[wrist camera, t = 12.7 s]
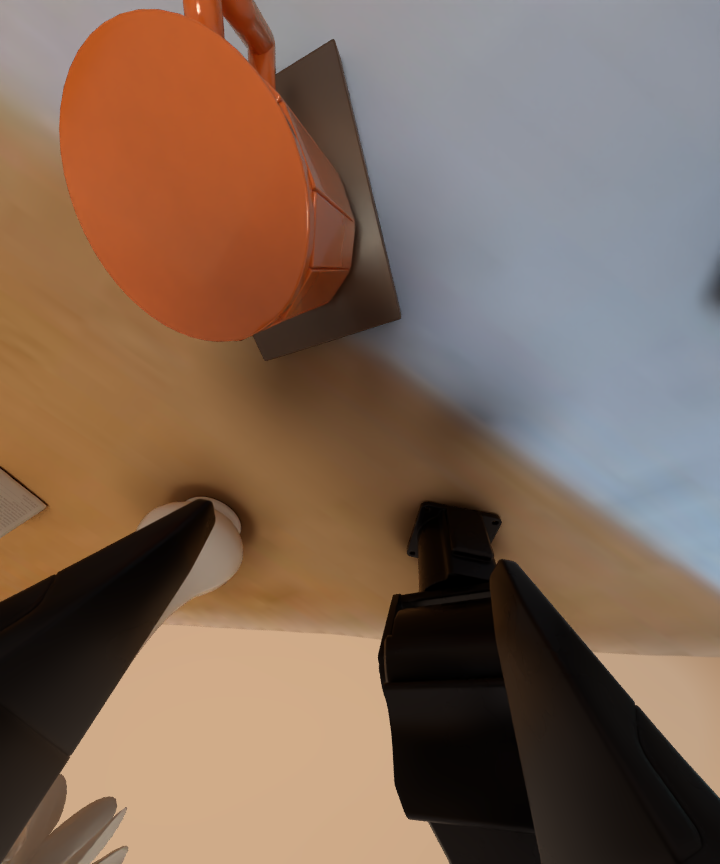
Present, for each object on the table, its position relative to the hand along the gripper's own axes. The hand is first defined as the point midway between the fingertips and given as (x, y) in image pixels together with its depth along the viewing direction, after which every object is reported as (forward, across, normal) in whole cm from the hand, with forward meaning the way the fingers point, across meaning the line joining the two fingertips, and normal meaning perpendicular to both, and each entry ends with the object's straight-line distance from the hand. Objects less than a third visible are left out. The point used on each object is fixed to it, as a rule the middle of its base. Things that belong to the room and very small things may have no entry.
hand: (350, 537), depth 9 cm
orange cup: (+10, +6, -9) cm, 15 cm away
